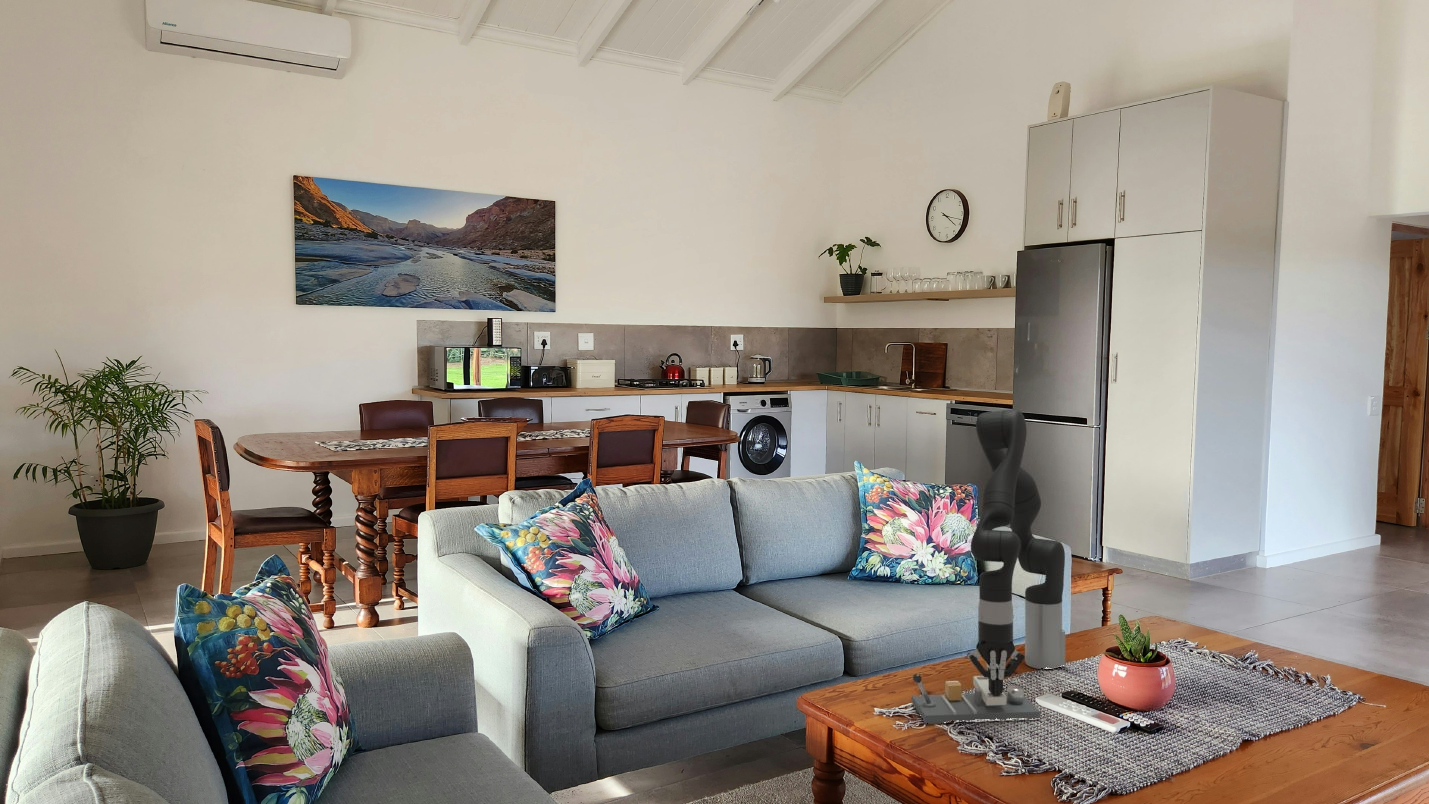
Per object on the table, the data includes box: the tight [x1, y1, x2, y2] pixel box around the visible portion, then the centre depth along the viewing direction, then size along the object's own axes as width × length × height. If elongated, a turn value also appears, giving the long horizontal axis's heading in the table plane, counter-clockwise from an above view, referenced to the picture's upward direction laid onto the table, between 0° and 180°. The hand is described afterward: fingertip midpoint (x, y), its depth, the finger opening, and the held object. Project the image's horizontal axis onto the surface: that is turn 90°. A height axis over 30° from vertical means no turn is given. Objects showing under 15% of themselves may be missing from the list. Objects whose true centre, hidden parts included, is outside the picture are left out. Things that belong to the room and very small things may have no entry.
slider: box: [944, 680, 963, 701], centre depth 219 cm, size 3×3×4 cm
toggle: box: [912, 673, 931, 704], centre depth 216 cm, size 2×2×8 cm
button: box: [1006, 684, 1024, 704], centre depth 217 cm, size 4×4×3 cm
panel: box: [911, 687, 1041, 725], centre depth 216 cm, size 26×12×5 cm, turn 92°
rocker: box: [972, 675, 1007, 706], centre depth 216 cm, size 4×10×2 cm, turn 2°
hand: (995, 694), depth 212 cm, fingers closed
